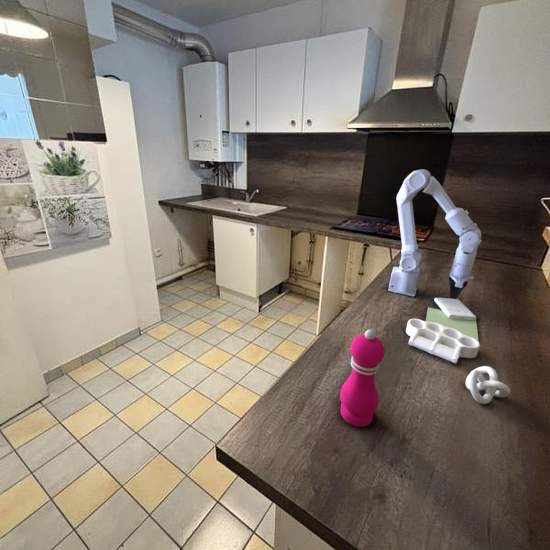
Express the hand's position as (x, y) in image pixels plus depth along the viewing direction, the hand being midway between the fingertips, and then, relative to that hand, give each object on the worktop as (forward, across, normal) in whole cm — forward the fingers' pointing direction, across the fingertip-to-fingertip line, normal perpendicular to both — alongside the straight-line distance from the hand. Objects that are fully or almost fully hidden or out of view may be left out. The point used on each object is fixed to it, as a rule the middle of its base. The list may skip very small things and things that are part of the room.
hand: (452, 298), depth 104 cm
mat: (+1, -16, 0) cm, 16 cm away
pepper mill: (+2, -66, +16) cm, 68 cm away
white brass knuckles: (+2, -31, +3) cm, 32 cm away
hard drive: (+2, -7, 0) cm, 7 cm away
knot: (+2, -47, -6) cm, 48 cm away
